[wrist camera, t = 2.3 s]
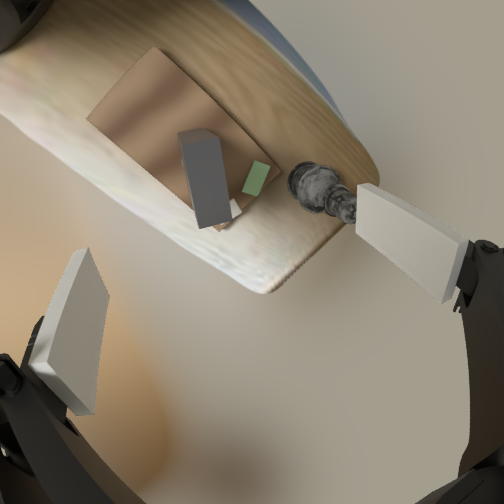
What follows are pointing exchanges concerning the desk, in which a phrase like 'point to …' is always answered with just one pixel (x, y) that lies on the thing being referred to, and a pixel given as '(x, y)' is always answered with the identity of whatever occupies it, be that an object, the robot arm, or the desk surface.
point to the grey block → (205, 176)
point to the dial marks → (251, 184)
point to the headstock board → (173, 126)
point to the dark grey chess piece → (322, 191)
